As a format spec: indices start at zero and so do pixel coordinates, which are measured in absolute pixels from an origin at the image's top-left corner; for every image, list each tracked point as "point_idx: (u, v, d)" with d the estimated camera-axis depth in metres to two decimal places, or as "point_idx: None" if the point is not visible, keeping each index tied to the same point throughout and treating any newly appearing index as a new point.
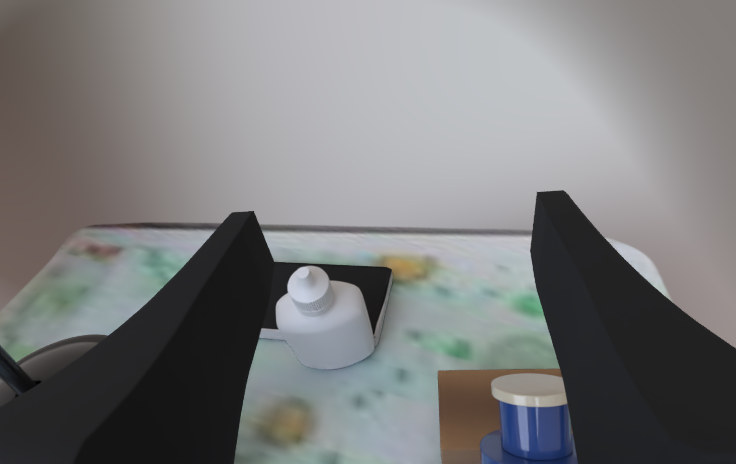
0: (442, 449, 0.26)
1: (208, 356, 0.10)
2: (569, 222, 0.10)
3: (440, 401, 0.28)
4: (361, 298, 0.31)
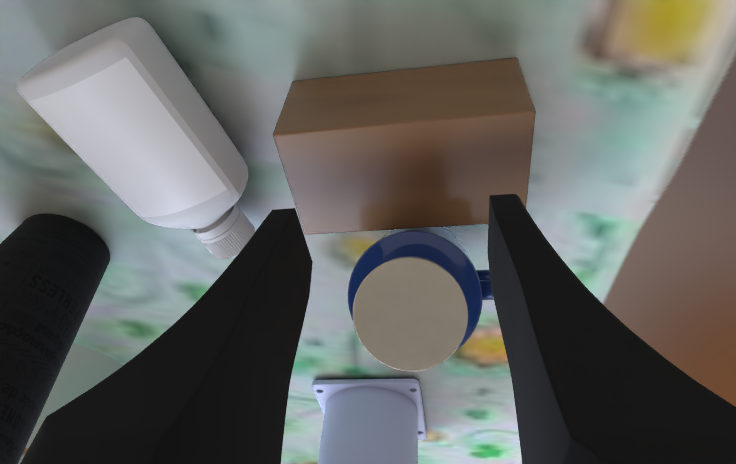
0: None
1: (258, 355, 0.10)
2: (515, 225, 0.10)
3: (289, 182, 0.19)
4: (244, 180, 0.22)
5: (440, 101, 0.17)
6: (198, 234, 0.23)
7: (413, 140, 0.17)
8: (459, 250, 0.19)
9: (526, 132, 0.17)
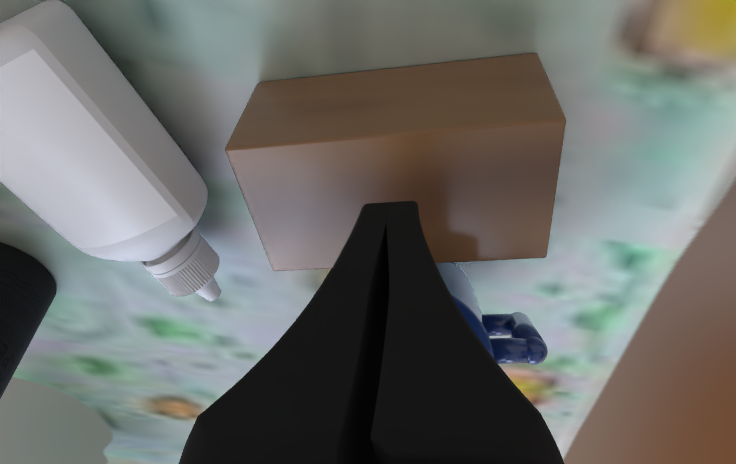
0: (275, 270, 0.17)
1: (375, 352, 0.10)
2: (401, 232, 0.11)
3: (250, 208, 0.15)
4: (200, 203, 0.18)
5: (441, 107, 0.14)
6: (147, 267, 0.19)
7: (406, 156, 0.13)
8: (466, 308, 0.15)
9: (553, 147, 0.13)
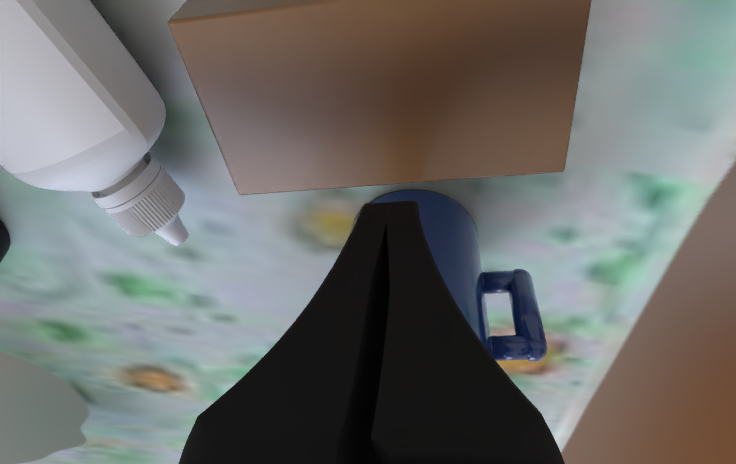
0: (241, 194, 0.14)
1: (375, 352, 0.10)
2: (401, 232, 0.11)
3: (205, 108, 0.12)
4: (155, 119, 0.15)
5: None
6: (98, 200, 0.16)
7: (393, 28, 0.11)
8: None
9: (578, 10, 0.10)
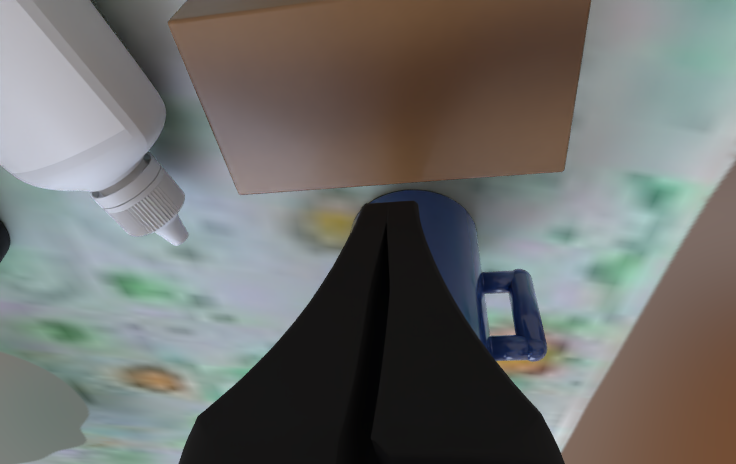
0: (241, 194, 0.14)
1: (375, 352, 0.10)
2: (401, 232, 0.11)
3: (205, 108, 0.12)
4: (155, 119, 0.15)
5: None
6: (98, 200, 0.16)
7: (393, 29, 0.11)
8: None
9: (578, 10, 0.10)
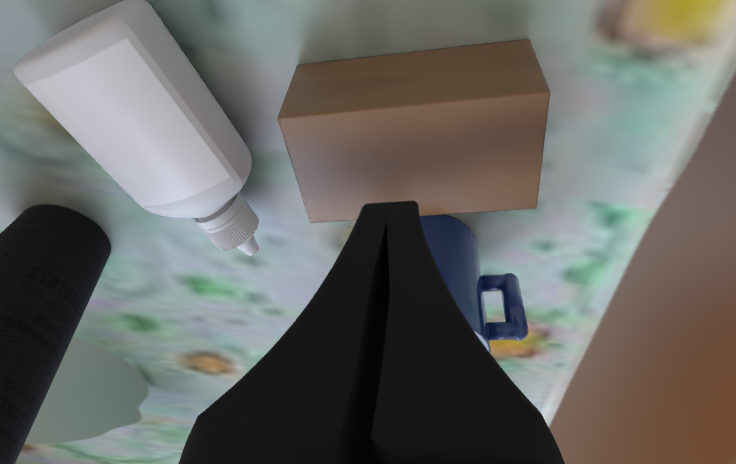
0: (312, 222, 0.20)
1: (375, 352, 0.10)
2: (401, 232, 0.11)
3: (294, 167, 0.18)
4: (247, 167, 0.21)
5: (451, 83, 0.17)
6: (201, 224, 0.22)
7: (423, 123, 0.17)
8: None
9: (540, 114, 0.16)
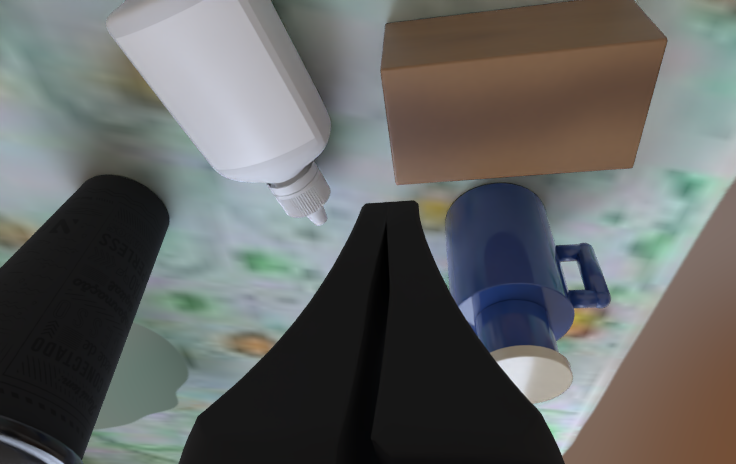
0: (398, 184, 0.20)
1: (375, 352, 0.10)
2: (401, 232, 0.11)
3: (390, 124, 0.18)
4: (328, 130, 0.21)
5: (558, 34, 0.17)
6: (276, 189, 0.22)
7: (531, 74, 0.16)
8: (560, 294, 0.20)
9: (654, 64, 0.16)
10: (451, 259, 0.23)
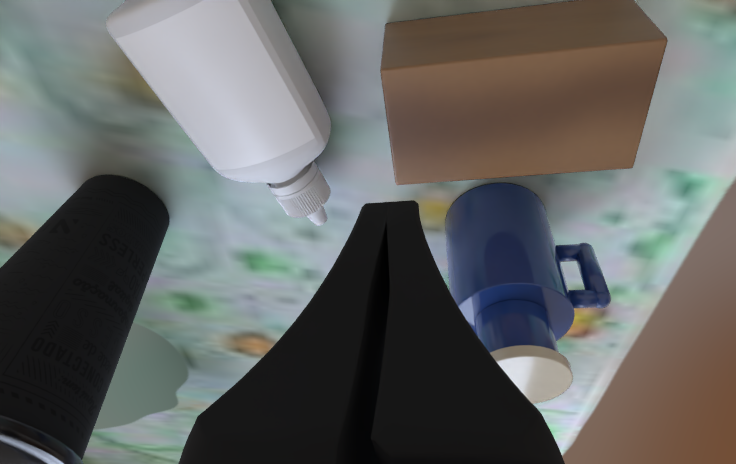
0: (398, 184, 0.20)
1: (375, 352, 0.10)
2: (401, 232, 0.11)
3: (390, 124, 0.18)
4: (328, 130, 0.21)
5: (558, 34, 0.17)
6: (276, 189, 0.22)
7: (531, 74, 0.16)
8: (560, 294, 0.20)
9: (654, 64, 0.16)
10: (451, 259, 0.23)
